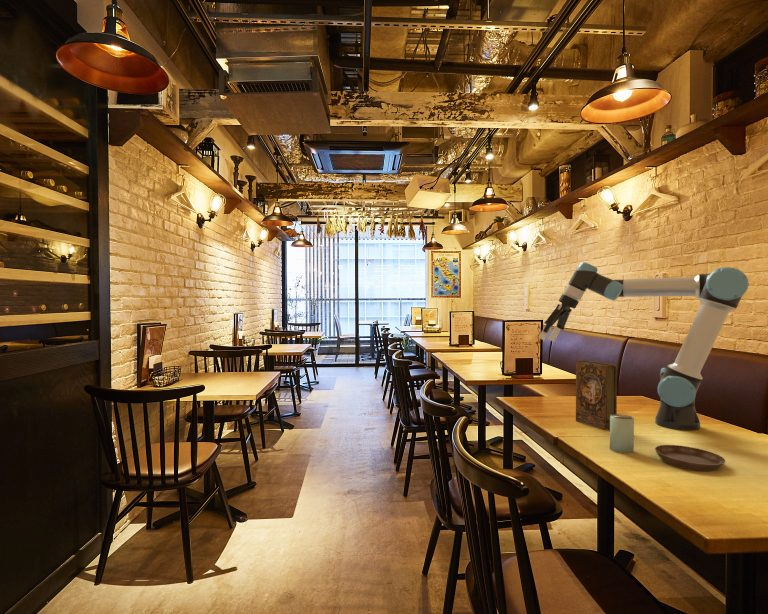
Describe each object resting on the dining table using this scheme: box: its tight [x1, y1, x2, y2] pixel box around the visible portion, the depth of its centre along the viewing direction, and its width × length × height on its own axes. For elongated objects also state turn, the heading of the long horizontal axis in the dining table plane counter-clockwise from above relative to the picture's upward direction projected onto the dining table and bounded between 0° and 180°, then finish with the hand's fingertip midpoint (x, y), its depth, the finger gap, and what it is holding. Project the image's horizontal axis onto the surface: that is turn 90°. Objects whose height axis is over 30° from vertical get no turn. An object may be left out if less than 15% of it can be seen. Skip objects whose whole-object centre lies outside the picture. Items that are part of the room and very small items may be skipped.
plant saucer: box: [654, 444, 726, 472], centre depth 134 cm, size 18×18×3 cm
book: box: [575, 360, 618, 430], centre depth 178 cm, size 16×6×25 cm, turn 22°
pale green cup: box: [609, 413, 635, 454], centre depth 146 cm, size 7×7×11 cm
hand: (546, 339), depth 192 cm, fingers open, 13 cm apart
